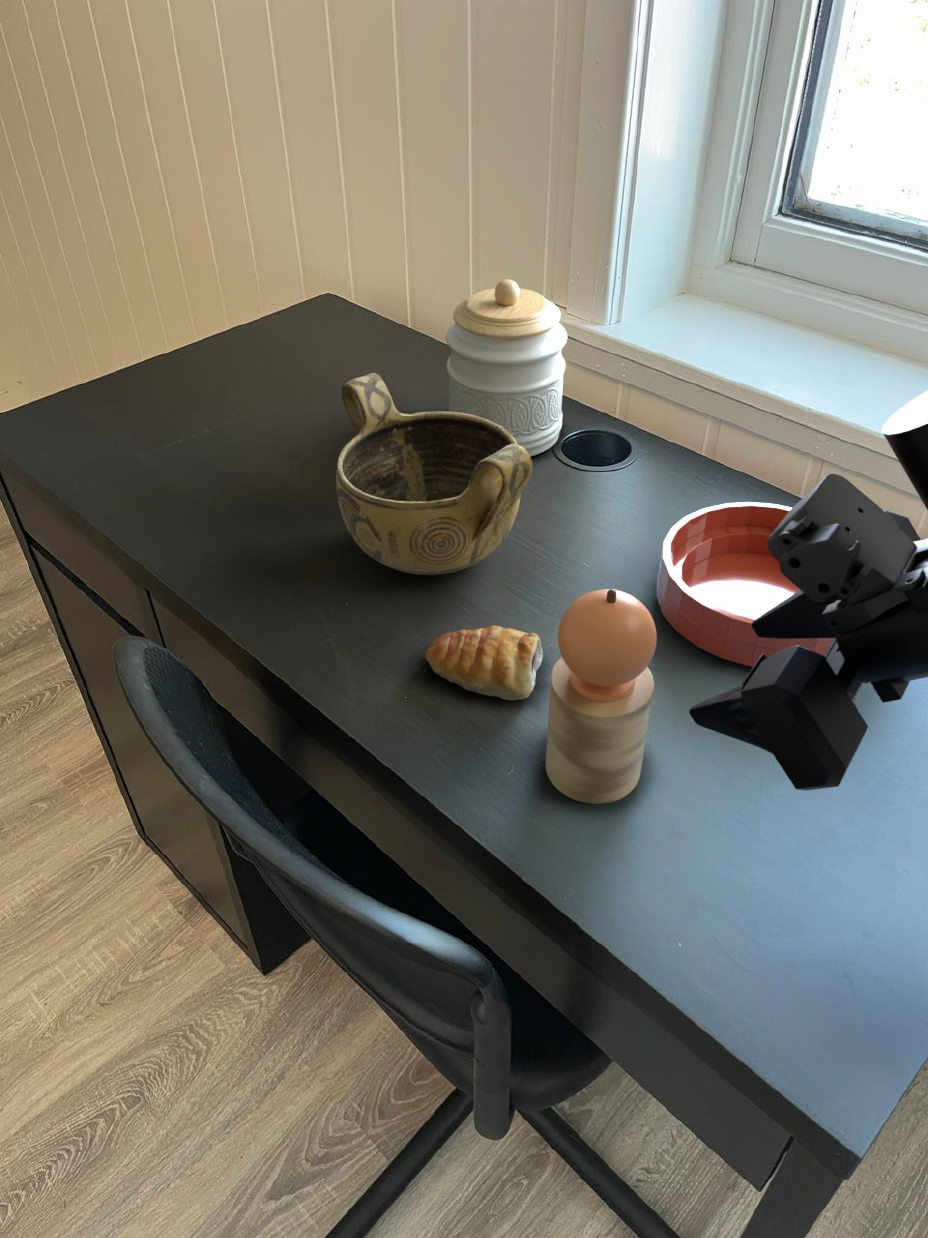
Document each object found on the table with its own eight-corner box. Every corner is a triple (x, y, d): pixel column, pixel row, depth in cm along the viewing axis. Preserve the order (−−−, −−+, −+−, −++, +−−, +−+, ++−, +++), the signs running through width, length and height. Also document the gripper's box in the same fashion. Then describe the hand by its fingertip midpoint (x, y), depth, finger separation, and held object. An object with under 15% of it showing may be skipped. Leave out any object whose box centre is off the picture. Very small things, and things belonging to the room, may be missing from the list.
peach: (661, 663, 65) (676, 574, 60) (633, 725, 61) (646, 634, 56) (574, 638, 68) (581, 550, 63) (541, 696, 63) (545, 606, 58)
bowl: (877, 574, 87) (892, 529, 84) (847, 700, 75) (863, 653, 72) (686, 528, 93) (693, 485, 90) (629, 637, 81) (635, 592, 78)
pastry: (418, 690, 77) (416, 655, 74) (437, 637, 82) (436, 602, 79) (532, 707, 75) (534, 671, 73) (545, 651, 80) (547, 616, 78)
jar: (489, 396, 115) (490, 249, 104) (582, 425, 109) (593, 273, 98) (425, 441, 107) (418, 287, 96) (522, 474, 101) (526, 315, 90)
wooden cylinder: (652, 749, 71) (666, 662, 66) (622, 817, 67) (636, 729, 61) (565, 721, 74) (572, 634, 68) (531, 784, 69) (535, 697, 63)
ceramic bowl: (578, 567, 89) (590, 424, 79) (442, 650, 80) (436, 501, 71) (426, 475, 102) (419, 342, 92) (294, 538, 93) (271, 399, 83)
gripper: (956, 385, 50) (719, 490, 62) (838, 562, 38) (575, 650, 50) (1053, 558, 51) (805, 628, 63) (969, 777, 40) (686, 812, 52)
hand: (725, 670), depth 57 cm, fingers open, 9 cm apart
